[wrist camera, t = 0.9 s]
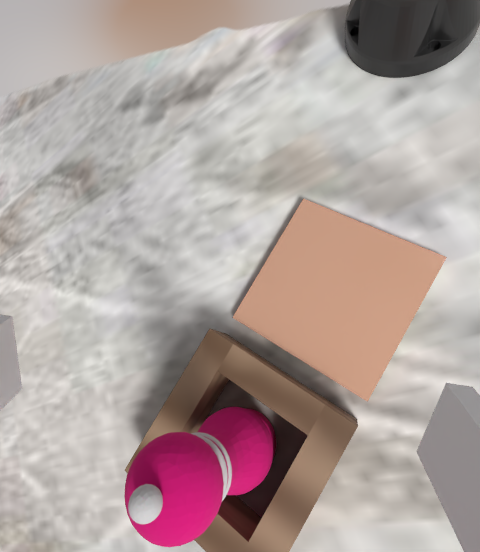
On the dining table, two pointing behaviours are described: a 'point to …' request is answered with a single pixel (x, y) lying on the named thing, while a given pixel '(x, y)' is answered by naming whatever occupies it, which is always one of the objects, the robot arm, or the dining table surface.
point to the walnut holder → (285, 402)
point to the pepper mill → (197, 474)
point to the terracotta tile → (339, 295)
